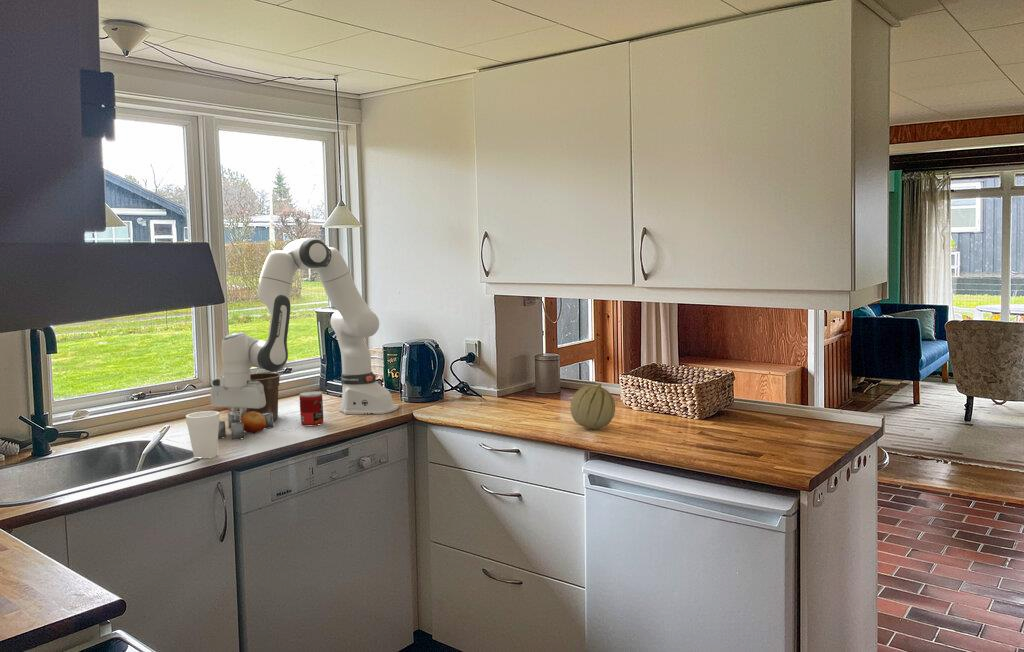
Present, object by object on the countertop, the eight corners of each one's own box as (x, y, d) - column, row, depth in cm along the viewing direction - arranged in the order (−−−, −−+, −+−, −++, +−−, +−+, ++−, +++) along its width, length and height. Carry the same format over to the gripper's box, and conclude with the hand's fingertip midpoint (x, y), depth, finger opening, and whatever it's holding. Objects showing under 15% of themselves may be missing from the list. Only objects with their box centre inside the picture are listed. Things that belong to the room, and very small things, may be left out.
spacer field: (275, 426, 275) (275, 412, 275) (239, 439, 257) (238, 425, 256) (235, 424, 281) (234, 410, 280) (196, 437, 262) (195, 422, 261)
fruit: (252, 423, 273) (258, 405, 270) (265, 437, 270) (272, 419, 267) (232, 428, 267) (239, 409, 264) (246, 442, 263) (253, 423, 260)
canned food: (318, 426, 273) (316, 395, 272) (296, 426, 275) (295, 395, 274) (327, 421, 281) (325, 391, 279) (306, 421, 282) (305, 391, 281)
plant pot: (227, 422, 285) (224, 378, 283) (260, 413, 299) (257, 371, 297) (260, 425, 277) (257, 380, 275) (292, 416, 291) (290, 373, 290)
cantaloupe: (561, 429, 259) (560, 384, 258) (592, 421, 268) (591, 378, 267) (593, 436, 248) (593, 389, 246) (625, 428, 257) (624, 383, 256)
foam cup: (182, 460, 233) (179, 417, 232) (199, 452, 242) (196, 410, 241) (211, 460, 231) (209, 417, 230) (227, 452, 241) (225, 411, 239)
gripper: (268, 379, 266) (270, 419, 268) (218, 377, 273) (221, 416, 274) (256, 382, 260) (259, 423, 262) (206, 381, 267) (209, 420, 268)
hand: (239, 420), depth 268 cm, fingers closed
